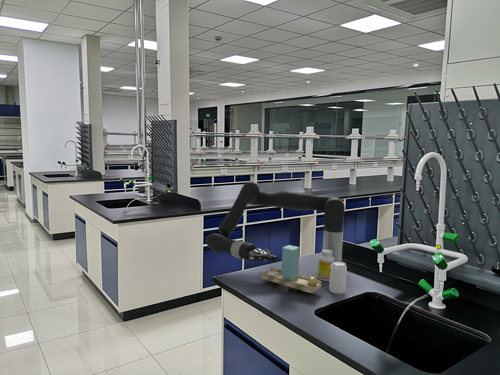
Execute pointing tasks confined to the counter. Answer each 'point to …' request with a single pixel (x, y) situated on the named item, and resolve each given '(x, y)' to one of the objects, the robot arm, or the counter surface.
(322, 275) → the supplement bottle
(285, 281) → the beam
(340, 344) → the counter surface
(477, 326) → the counter surface
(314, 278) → the counterweight
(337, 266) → the can
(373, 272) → the counter surface
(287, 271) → the block
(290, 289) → the fulcrum
